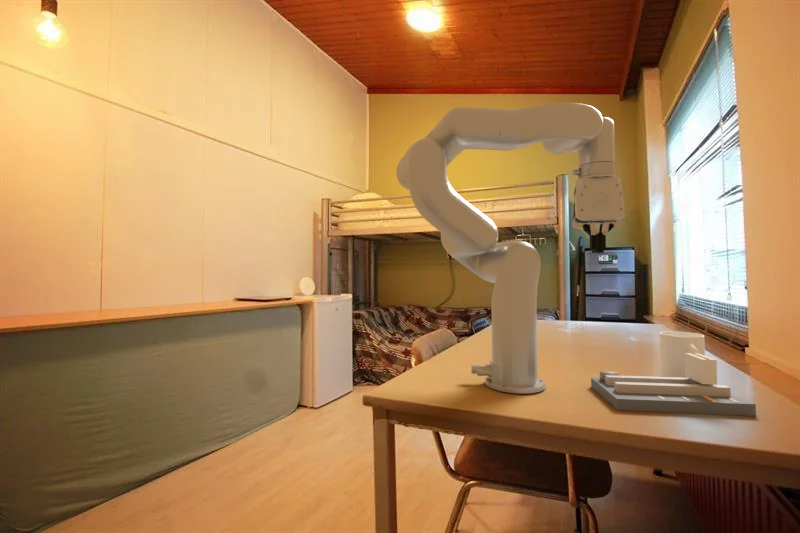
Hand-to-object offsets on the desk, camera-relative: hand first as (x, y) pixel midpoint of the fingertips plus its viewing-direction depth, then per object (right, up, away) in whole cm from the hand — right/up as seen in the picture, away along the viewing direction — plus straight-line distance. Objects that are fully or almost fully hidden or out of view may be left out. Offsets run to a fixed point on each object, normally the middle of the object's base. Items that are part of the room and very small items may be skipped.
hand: (597, 252), depth 90 cm
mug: (+18, -29, -3) cm, 34 cm away
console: (+5, -29, -15) cm, 33 cm away
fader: (+11, -27, -16) cm, 33 cm away
